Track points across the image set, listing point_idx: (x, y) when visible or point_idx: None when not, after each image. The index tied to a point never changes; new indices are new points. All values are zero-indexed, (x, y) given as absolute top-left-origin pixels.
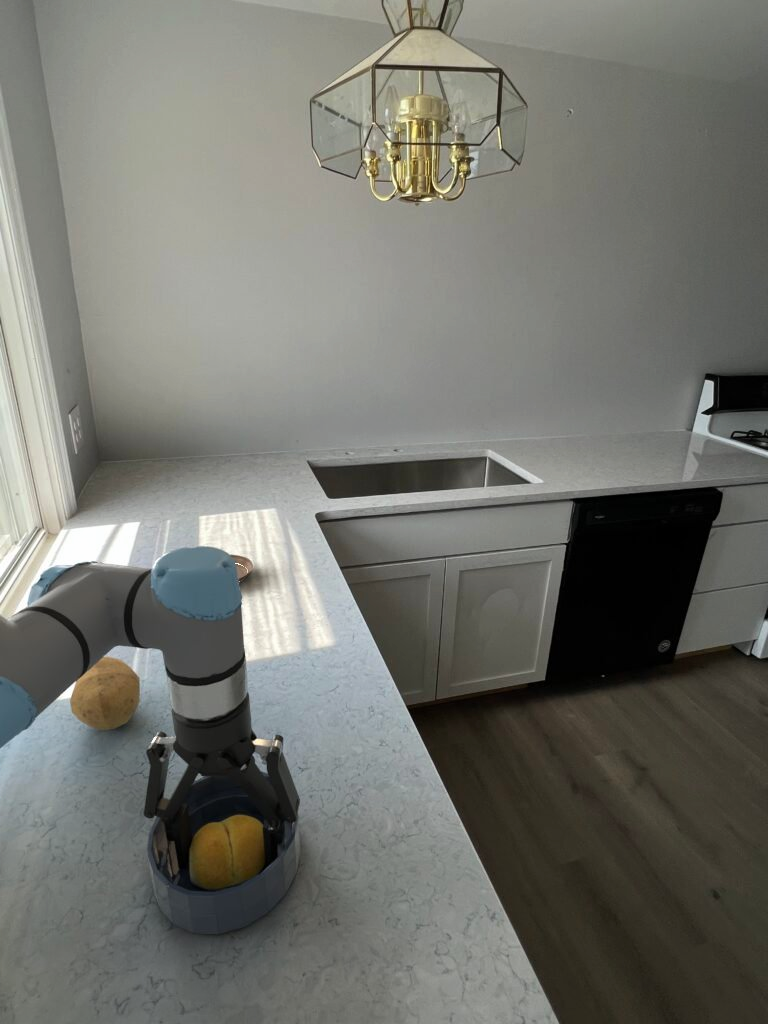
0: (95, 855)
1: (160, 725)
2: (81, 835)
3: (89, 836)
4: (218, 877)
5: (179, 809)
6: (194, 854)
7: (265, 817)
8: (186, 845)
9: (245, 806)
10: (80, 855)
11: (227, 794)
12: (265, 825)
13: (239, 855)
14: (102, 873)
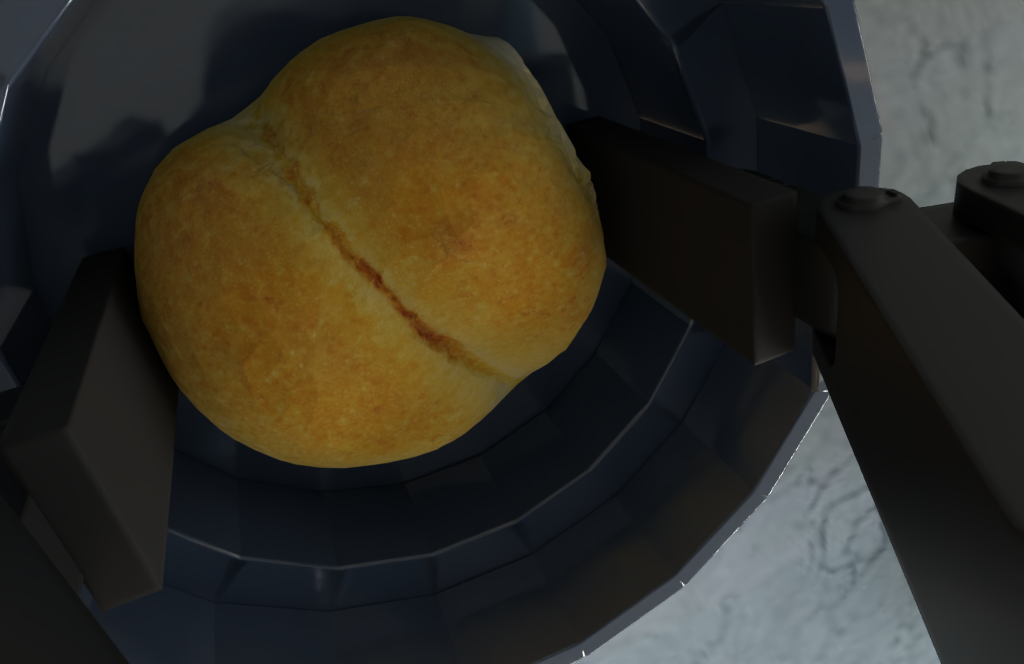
0: (944, 79)
1: (905, 602)
2: (1016, 142)
3: (989, 148)
4: (334, 72)
5: (790, 316)
6: (549, 148)
7: (12, 527)
8: (619, 198)
9: (441, 496)
10: (994, 62)
11: (550, 512)
12: (62, 458)
13: (270, 231)
14: (893, 11)
